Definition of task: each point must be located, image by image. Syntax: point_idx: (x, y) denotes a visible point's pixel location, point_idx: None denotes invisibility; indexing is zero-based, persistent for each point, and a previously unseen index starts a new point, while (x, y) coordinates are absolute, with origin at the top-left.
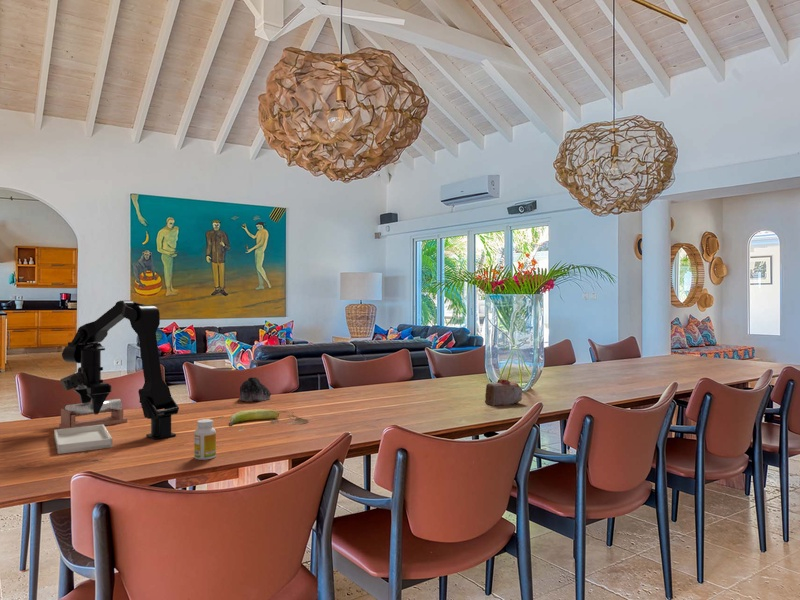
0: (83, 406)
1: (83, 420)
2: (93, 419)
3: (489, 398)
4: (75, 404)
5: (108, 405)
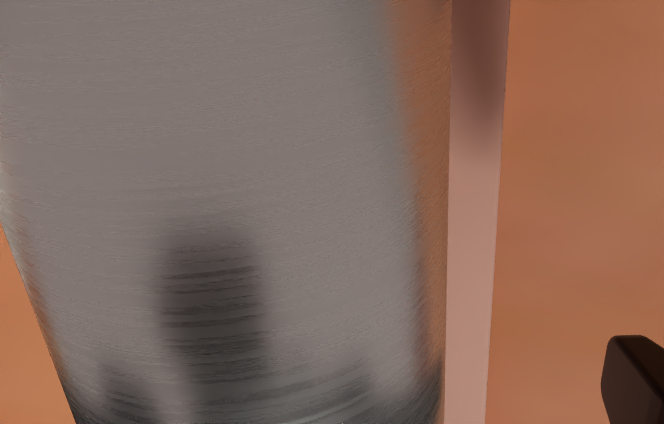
0: (47, 336)
1: (493, 196)
2: (451, 327)
3: None
4: (72, 146)
5: None
